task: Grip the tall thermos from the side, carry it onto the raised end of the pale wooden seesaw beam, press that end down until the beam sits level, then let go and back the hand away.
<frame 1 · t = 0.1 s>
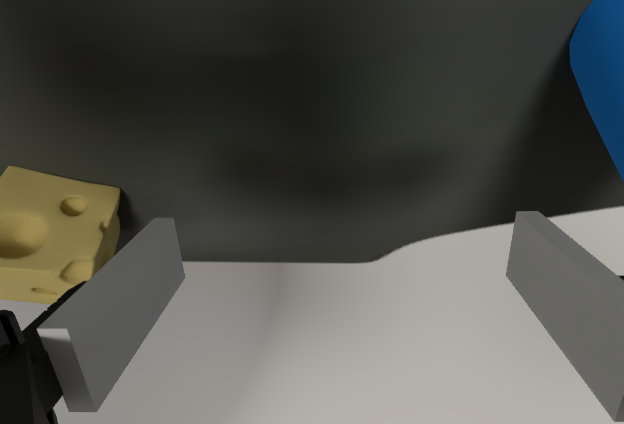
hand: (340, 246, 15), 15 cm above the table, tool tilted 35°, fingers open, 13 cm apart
cheese: (71, 200, 42), on the table
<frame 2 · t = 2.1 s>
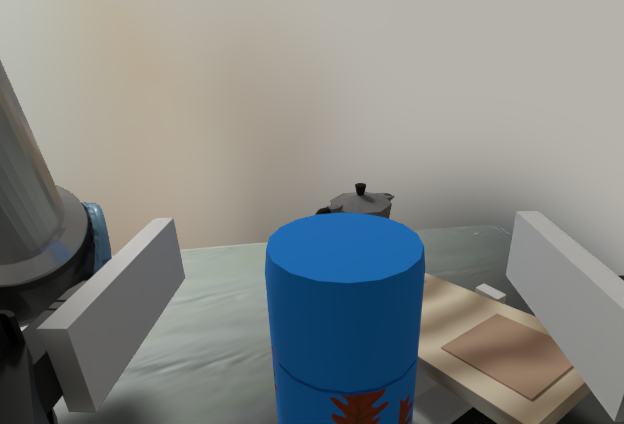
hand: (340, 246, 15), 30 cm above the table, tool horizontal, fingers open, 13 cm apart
coffeepot: (354, 287, 66), on the table
fulcrum: (437, 377, 47), on the table
beam: (443, 312, 44), point 9 cm above the table, hinge at -8.0°
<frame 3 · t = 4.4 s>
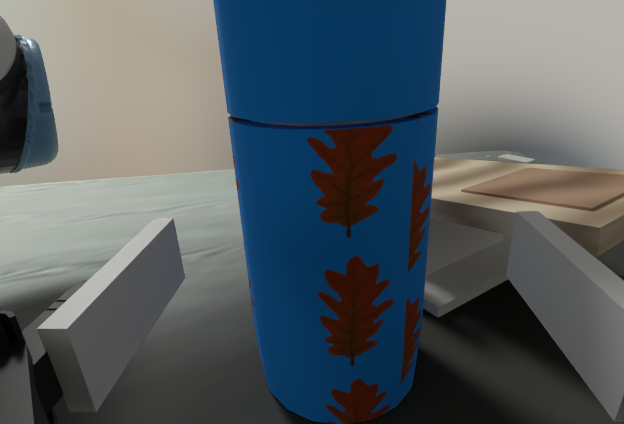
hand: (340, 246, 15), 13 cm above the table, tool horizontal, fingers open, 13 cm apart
thermos: (338, 361, 27), on the table
fulcrum: (453, 261, 39), on the table
beam: (460, 168, 35), point 9 cm above the table, hinge at -8.0°
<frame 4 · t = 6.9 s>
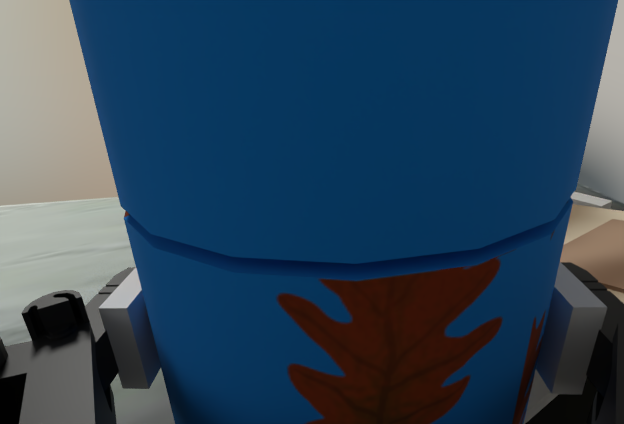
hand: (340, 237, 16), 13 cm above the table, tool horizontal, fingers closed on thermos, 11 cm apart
fulcrum: (499, 338, 29), on the table
beam: (516, 219, 25), point 9 cm above the table, hinge at -8.0°
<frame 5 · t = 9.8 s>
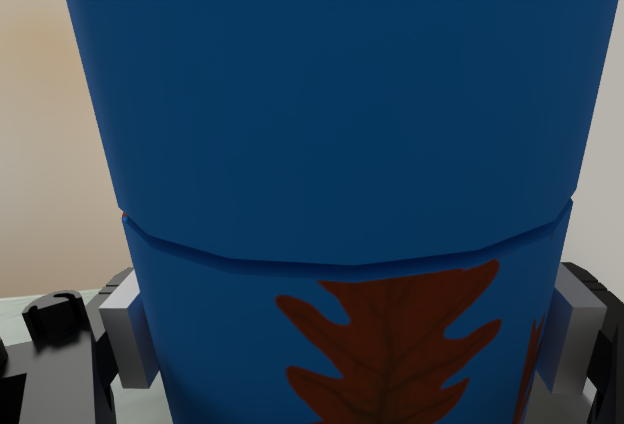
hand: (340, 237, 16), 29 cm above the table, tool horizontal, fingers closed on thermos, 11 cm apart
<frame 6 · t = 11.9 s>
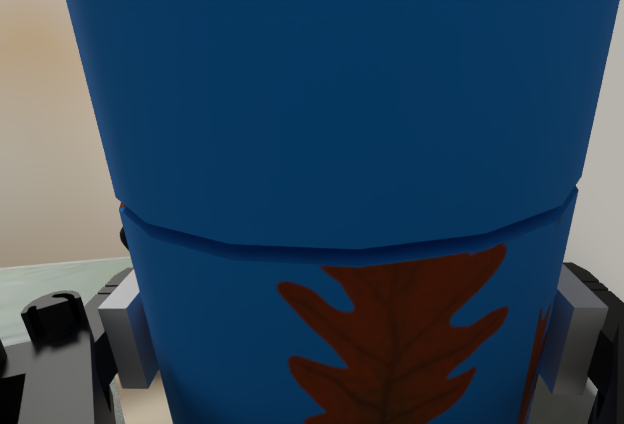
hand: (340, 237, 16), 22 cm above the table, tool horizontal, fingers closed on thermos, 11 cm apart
beam: (259, 405, 23), point 9 cm above the table, hinge at -0.8°, touching thermos
when the fingers open (22 cm above the table, at t = 13.2 s): thermos stays where it is, resting on beam.
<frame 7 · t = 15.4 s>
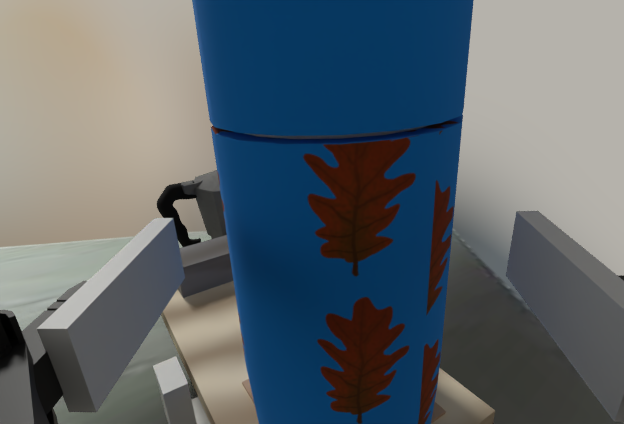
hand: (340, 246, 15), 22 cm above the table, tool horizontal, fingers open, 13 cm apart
thermos: (342, 402, 24), point 9 cm above the table, touching beam
coffeepot: (237, 287, 53), on the table
fulcrum: (286, 411, 34), on the table
beam: (277, 322, 30), point 9 cm above the table, hinge at -0.7°, touching thermos
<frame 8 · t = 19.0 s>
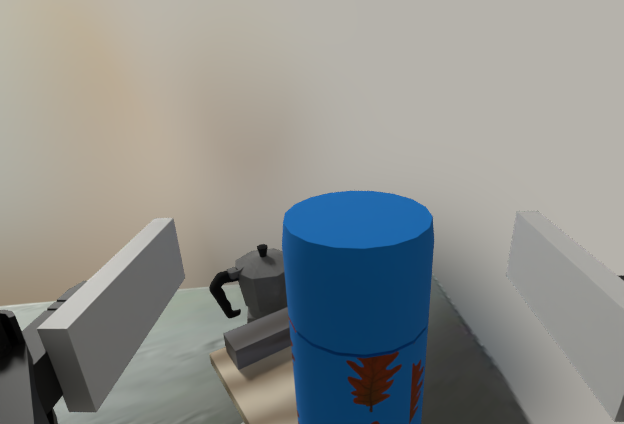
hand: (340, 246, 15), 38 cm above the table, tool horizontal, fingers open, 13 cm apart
coffeepot: (266, 343, 66), on the table
beam: (310, 394, 44), point 9 cm above the table, hinge at -0.7°, touching thermos
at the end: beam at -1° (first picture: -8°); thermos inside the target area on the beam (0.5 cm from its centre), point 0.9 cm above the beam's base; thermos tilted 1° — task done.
